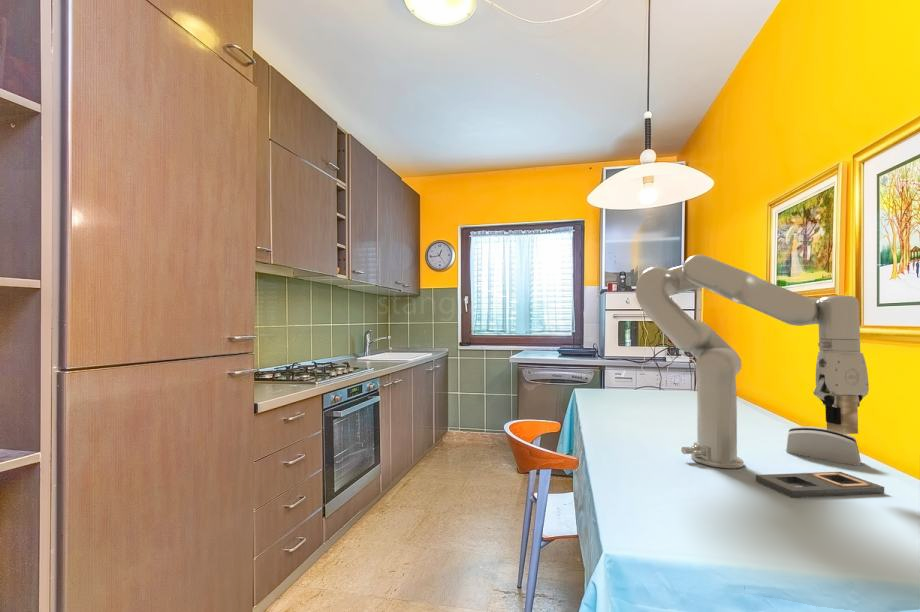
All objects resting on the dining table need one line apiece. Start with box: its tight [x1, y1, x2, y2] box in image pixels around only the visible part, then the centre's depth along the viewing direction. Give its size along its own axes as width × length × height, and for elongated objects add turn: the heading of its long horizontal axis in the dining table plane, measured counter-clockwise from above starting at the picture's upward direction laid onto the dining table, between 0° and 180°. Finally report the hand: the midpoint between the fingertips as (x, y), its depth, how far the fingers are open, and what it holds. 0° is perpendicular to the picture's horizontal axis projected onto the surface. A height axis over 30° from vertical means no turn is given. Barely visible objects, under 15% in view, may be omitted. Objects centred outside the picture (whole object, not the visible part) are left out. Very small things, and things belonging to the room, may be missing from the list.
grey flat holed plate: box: [755, 471, 885, 499], centre depth 103 cm, size 24×10×2 cm, turn 98°
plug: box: [826, 395, 859, 435], centre depth 104 cm, size 4×4×9 cm
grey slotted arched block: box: [785, 426, 862, 466], centre depth 126 cm, size 17×5×10 cm, turn 46°
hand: (841, 422), depth 104 cm, fingers closed on plug, 3 cm apart
